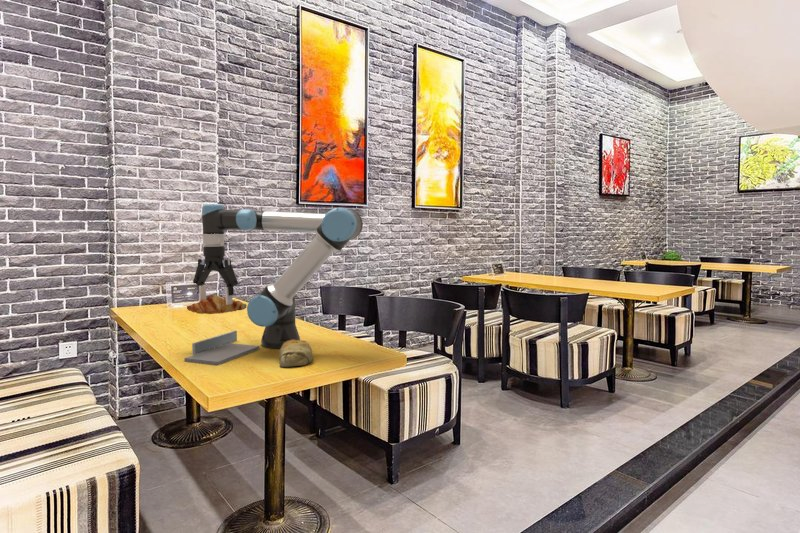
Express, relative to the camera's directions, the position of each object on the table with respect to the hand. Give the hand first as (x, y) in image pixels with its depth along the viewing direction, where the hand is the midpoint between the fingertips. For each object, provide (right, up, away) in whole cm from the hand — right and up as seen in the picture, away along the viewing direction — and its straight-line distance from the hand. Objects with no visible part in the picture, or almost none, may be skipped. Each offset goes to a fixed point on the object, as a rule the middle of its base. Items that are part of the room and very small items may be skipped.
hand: (215, 303), depth 186 cm
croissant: (0, -4, 0) cm, 4 cm away
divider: (-3, -18, +7) cm, 19 cm away
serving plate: (+5, -19, -5) cm, 20 cm away
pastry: (+33, -20, -15) cm, 41 cm away
